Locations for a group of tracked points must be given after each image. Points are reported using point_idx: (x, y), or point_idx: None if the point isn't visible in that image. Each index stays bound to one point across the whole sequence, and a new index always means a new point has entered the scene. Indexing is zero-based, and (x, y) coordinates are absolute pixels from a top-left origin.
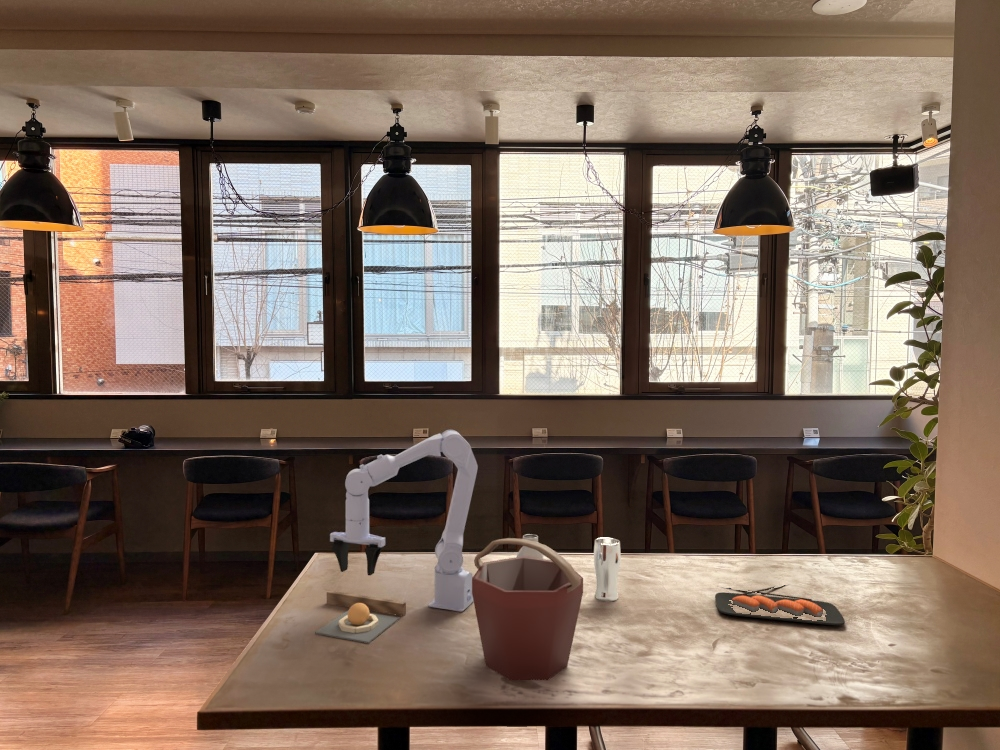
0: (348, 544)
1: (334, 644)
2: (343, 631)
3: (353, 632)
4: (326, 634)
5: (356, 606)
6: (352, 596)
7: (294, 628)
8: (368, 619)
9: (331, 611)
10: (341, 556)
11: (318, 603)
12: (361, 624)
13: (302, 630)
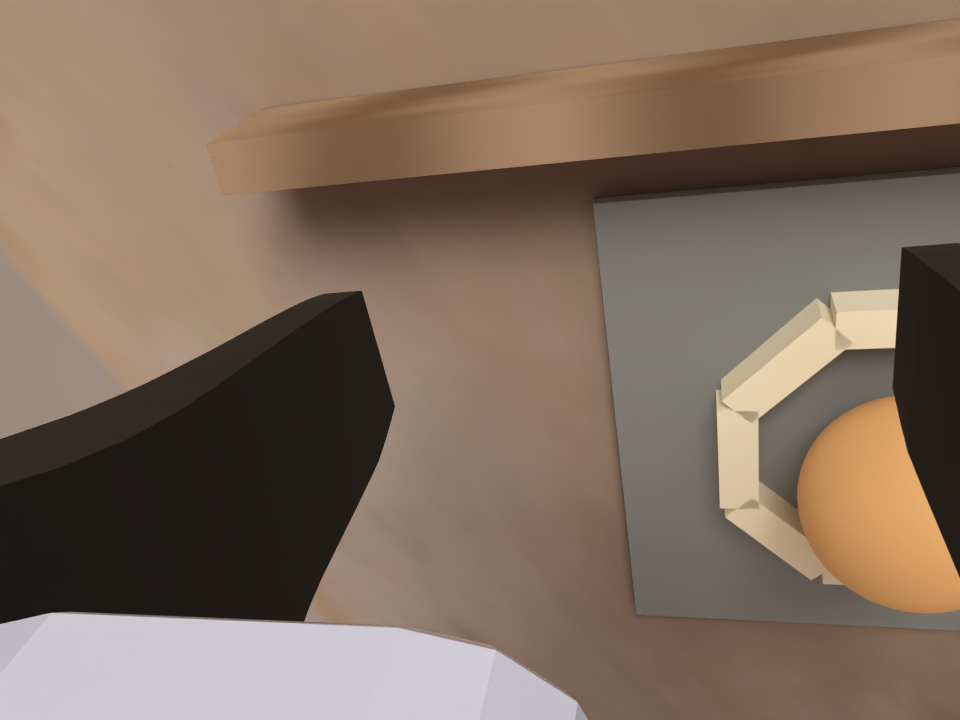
0: (50, 546)
1: (868, 680)
2: None
3: None
4: (732, 617)
5: (933, 607)
6: (552, 161)
7: (450, 580)
8: None
9: (450, 273)
10: (282, 618)
11: (214, 180)
12: None
13: (519, 588)
